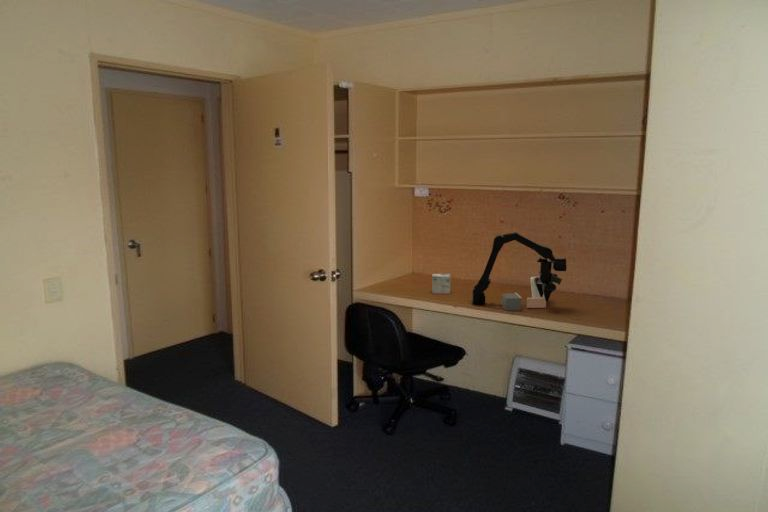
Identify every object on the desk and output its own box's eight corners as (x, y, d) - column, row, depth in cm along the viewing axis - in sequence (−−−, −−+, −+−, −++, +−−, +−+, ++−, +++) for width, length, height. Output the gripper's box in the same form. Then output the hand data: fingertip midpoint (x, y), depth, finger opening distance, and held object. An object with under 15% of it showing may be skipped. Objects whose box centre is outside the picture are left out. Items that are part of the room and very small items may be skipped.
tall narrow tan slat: (527, 307, 293) (527, 298, 292) (526, 306, 295) (526, 297, 294) (545, 307, 293) (546, 298, 292) (544, 306, 295) (545, 297, 294)
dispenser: (505, 310, 289) (506, 297, 287) (501, 305, 299) (501, 292, 297) (520, 310, 289) (521, 297, 288) (515, 305, 299) (516, 292, 298)
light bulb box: (450, 291, 330) (450, 273, 328) (450, 294, 324) (450, 276, 322) (432, 290, 331) (432, 273, 329) (432, 293, 325) (432, 275, 323)
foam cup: (528, 302, 305) (529, 279, 303) (530, 298, 314) (531, 276, 312) (546, 303, 302) (547, 280, 300) (547, 299, 311) (548, 277, 308)
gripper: (567, 274, 282) (565, 303, 284) (554, 266, 300) (553, 294, 303) (545, 274, 281) (543, 303, 284) (534, 267, 300) (533, 294, 302)
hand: (544, 299), depth 293 cm, fingers open, 9 cm apart
